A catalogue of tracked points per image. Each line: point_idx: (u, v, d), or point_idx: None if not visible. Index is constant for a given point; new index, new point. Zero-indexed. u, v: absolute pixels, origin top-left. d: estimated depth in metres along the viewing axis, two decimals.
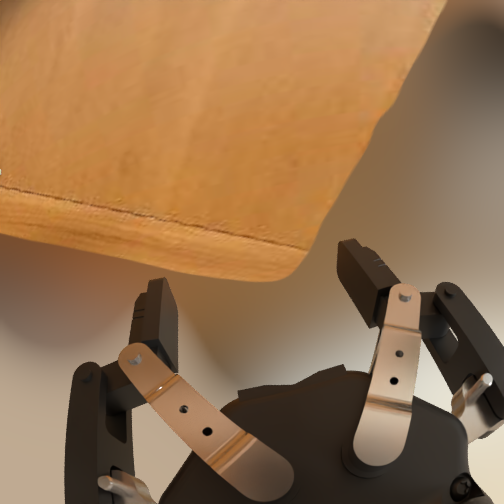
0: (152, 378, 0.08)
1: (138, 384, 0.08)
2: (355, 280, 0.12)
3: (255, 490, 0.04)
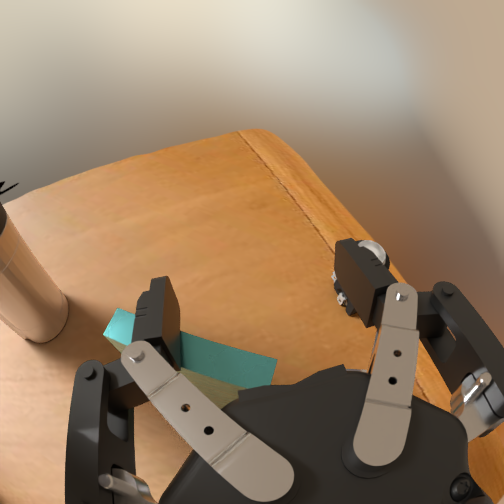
0: (155, 376, 0.08)
1: (140, 382, 0.08)
2: (352, 279, 0.12)
3: (255, 490, 0.04)
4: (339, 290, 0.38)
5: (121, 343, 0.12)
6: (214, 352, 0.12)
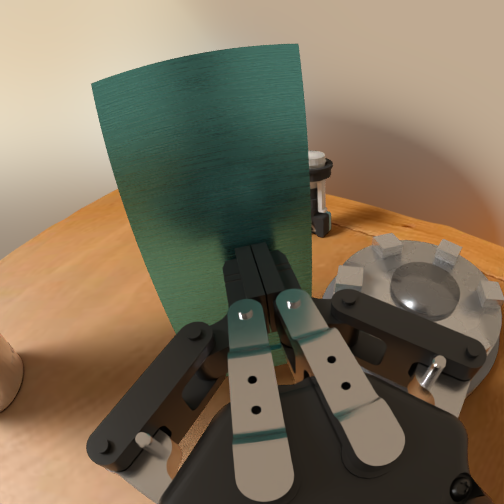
0: (248, 338, 0.09)
1: (232, 337, 0.09)
2: None
3: (255, 490, 0.04)
4: None
5: (116, 77, 0.08)
6: None
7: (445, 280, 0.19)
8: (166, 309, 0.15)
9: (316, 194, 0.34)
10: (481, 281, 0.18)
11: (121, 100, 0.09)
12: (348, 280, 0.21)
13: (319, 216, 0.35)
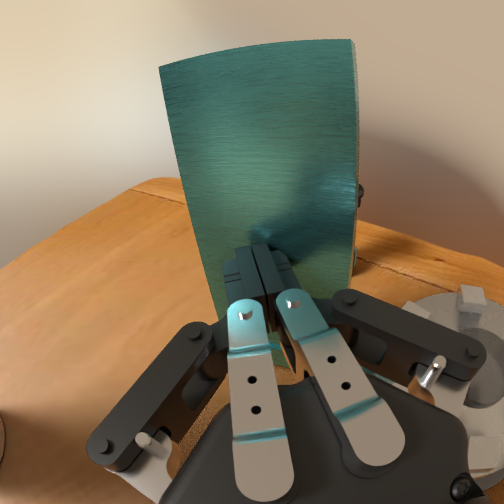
0: (247, 338, 0.09)
1: (232, 337, 0.09)
2: None
3: (255, 490, 0.04)
4: None
5: (177, 63, 0.10)
6: None
7: None
8: (207, 275, 0.17)
9: None
10: None
11: (181, 84, 0.10)
12: None
13: None
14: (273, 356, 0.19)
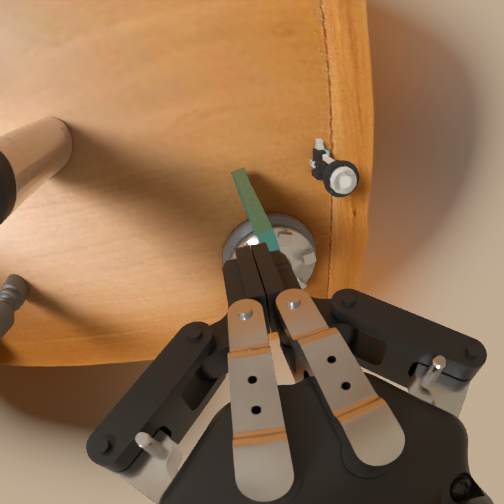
0: (248, 338, 0.09)
1: (232, 337, 0.09)
2: None
3: (255, 490, 0.04)
4: None
5: None
6: None
7: None
8: (239, 189, 0.36)
9: None
10: None
11: None
12: (281, 239, 0.46)
13: (319, 175, 0.44)
14: None
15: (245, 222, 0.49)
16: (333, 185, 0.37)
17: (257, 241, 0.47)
